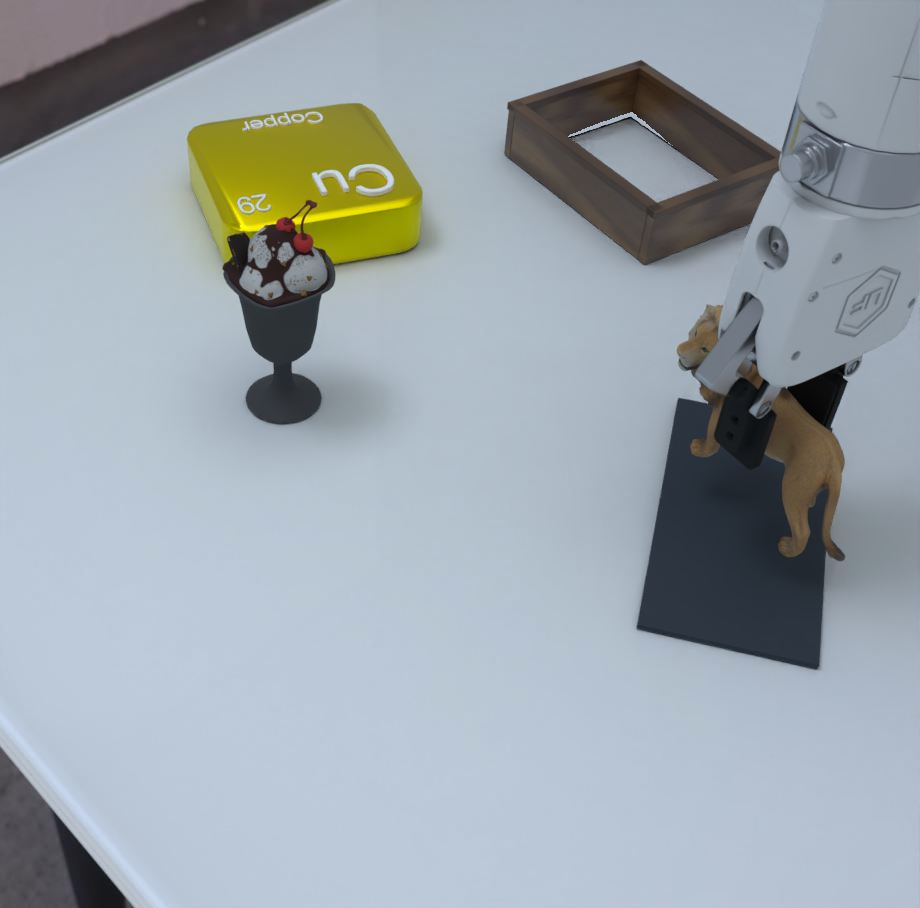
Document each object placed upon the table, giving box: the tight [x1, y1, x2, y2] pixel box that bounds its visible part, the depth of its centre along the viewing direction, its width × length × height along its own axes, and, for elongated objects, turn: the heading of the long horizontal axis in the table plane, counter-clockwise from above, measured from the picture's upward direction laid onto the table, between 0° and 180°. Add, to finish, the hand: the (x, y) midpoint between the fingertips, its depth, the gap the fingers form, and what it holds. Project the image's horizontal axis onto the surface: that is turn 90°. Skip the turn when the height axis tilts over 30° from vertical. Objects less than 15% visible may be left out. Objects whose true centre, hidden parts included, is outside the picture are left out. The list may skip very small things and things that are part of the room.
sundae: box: [221, 200, 336, 425], centre depth 80 cm, size 7×7×15 cm
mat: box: [636, 397, 834, 670], centre depth 79 cm, size 20×10×1 cm, turn 165°
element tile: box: [186, 102, 423, 265], centre depth 99 cm, size 15×15×5 cm
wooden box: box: [503, 59, 781, 266], centre depth 103 cm, size 14×18×5 cm
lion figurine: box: [676, 304, 846, 562], centre depth 74 cm, size 15×5×9 cm, turn 40°
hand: (771, 434), depth 74 cm, fingers closed on lion figurine, 4 cm apart
